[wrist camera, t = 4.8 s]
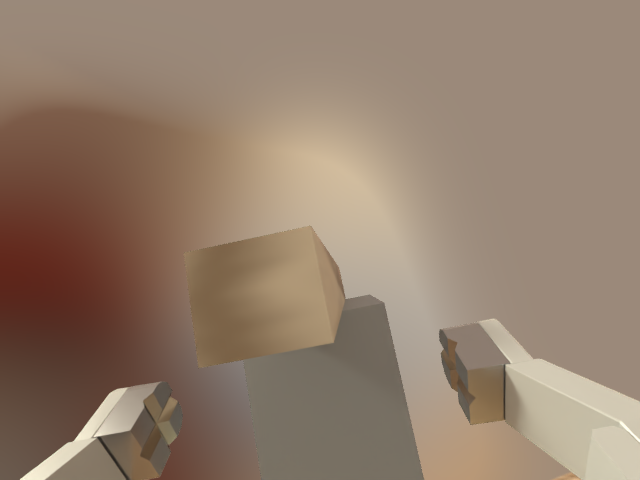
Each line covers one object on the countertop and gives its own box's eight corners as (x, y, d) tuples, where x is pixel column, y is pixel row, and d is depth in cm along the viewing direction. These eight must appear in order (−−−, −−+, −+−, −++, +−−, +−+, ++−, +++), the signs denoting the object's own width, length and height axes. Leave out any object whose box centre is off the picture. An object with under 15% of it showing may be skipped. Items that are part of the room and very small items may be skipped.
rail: (198, 368, 8) (183, 253, 8) (309, 305, 30) (303, 275, 30) (333, 342, 8) (310, 225, 8) (345, 298, 29) (339, 267, 30)
